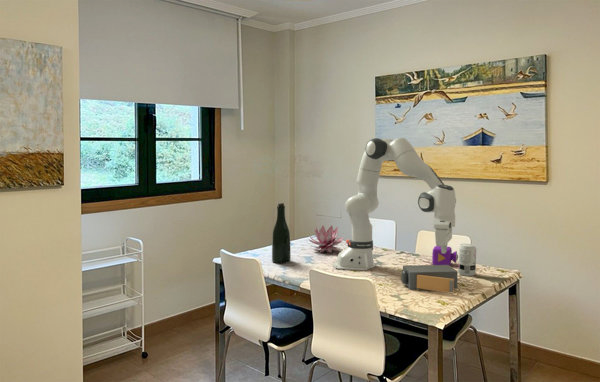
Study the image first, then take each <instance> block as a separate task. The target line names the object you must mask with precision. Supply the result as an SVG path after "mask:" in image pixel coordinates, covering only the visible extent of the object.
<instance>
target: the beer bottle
mask: <svg viewBox="0 0 600 382" xmlns="http://www.w3.org/2000/svg"><path fill="white" fill-rule="evenodd" d="M276 211H277V213H276V221H275V224H274V227H273V229H272V234H271V235H272V237H271V261H272V262H273V263H275V262H277V263H276V264H286V262H287V263H289V262H291V260H292V258H291V253H292V252H291V232H290V228H289V226H288V223H287V220H286V206H285V202H278V204H277V206H276Z"/></svg>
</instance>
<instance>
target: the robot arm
mask: <svg viewBox="0 0 600 382" xmlns="http://www.w3.org/2000/svg"><path fill="white" fill-rule="evenodd" d="M364 149H365V150H364V152H363V155H362V157H361V161H360V163H359V167H358V168H359V169H358V173H357V177H356V184H357V186H358V187H357V188H358V189H357V190H358V191H357V194H355V195H352V196H350V197H349V198H348V199H347V200H346V201H345V203H344V209H345V211H346V213H347V214H348V217H349V221H350V226H351V239H350V240H349V239H346V241H345V243H346V244H347V247H346V248H344V249H343V250H342V251H339V253H338V255H337V259H336V261H334V262H332V267H333V266H334V267H335V269H336V268H337V269H336V270H343V269H345V270H347V271H349V270H351V271H367V270H370V269H373V268H375V265H376V264H375V260H374V255H373V250H374V241H373V225H372V223H371V221H370V217H369V214H371V213H372V212H374V211H375V210H376V209H377V208H378V206H379V204H380V203H379V198H378V184H379V179H380V174H381V169H382V165H383V163H384V162H385V161H387V162H394V163H395V165H396V167H397V169H398V170H399V171H400V172H401V173H402V174H403V175H405V176H409V177H412V178H416V179H420V180H422V181H424V182H425V183H426V184H427V185H428V187H429V188H430V189H429V190H427V191H424V192H423V191H422V193H420V195H419V196H418V198H417V199H418V200H417V204H418V207H419V209H420V210H421V211H422V212H424V213H434V216H433V217H434V218H433V219H434V222H433V229H434V239H435V241H434V242H435V246H440V247H441V253H444V254H445V253H446V252H447V247H448V243H449V242H450V241H451V240H452V239H453V228H455V227H456V212H455V209H456V204H457V198H456V192H455V189H454V187H453V186H451V185H447V184H445V183H444V182H443V181H442V179H441V178H440V177H439V176H438V174H437V173H436V171H434V169H433V168H432V167H431V165H429V164H427V163H426V162H425V161H424V160H423V159H422V158H421V157H420V156H419V155H418V154H419V153H417V152H416V149H415V148H414V147H413V145H412V144H411V143H410V142H409V141H408V140H407V139H406V138H405V137H397V138H395V139H393V138H392V139H391V138H378V137H377V138H371V139H369V140H368V141H367V142H366V144H365V148H364ZM334 267H333V268H334ZM345 270H344V271H345Z"/></svg>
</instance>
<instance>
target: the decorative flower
mask: <svg viewBox="0 0 600 382" xmlns="http://www.w3.org/2000/svg"><path fill="white" fill-rule="evenodd" d="M333 227H334V226H333V225H330V227H329V228H328V229H327V230H326V229H325V225H322V226H321V228H320V229H319V231H318V228H317V226H315V227H314V234H315V237H316V239H317V240H316V239H314V238H313V237H311V236H309V237H310V239H309V241H310V242H311V243H312V244H314V245H318V246H316V247H314V251H317V250H319V251H320V252H319V253H321V252H322V253H324V252H325V251H326V252H327V253H328V252H329V253H332V252H333V251H335V252H338V251H339V252H340V247H336V246H337V245H339V244H341V243H342V242H343V241H344V240H343V239H344V236H342V237H340V238H337V236H338V231H339V229H338V228H339V227H338V226H336V227H335V229H334V228H333ZM332 250H333V251H332Z"/></svg>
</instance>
